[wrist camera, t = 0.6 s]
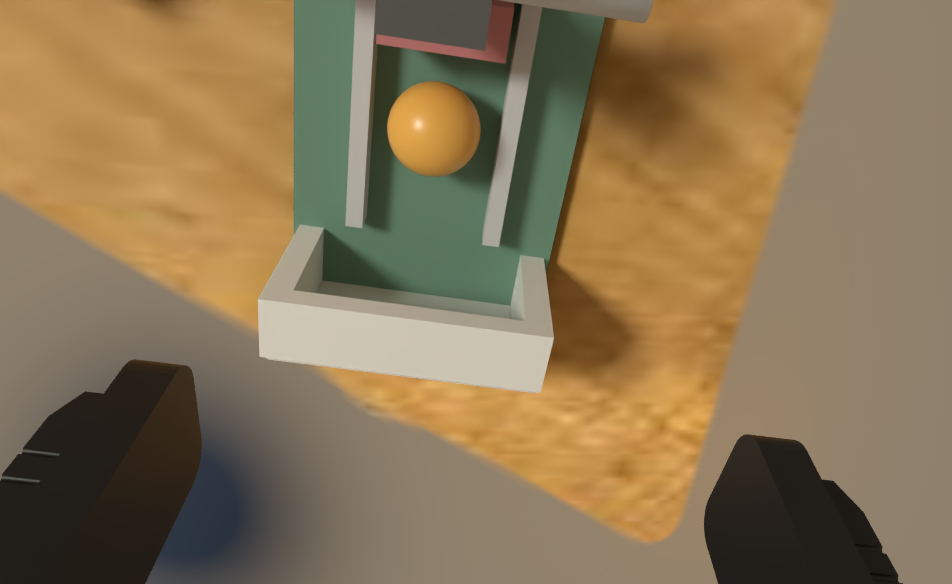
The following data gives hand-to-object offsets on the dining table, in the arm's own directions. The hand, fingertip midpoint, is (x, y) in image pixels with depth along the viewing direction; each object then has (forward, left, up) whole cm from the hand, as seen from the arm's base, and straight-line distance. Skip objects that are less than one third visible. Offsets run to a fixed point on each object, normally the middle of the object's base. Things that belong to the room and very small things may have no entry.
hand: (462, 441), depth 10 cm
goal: (+10, -2, -24) cm, 26 cm away
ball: (+2, -2, -21) cm, 21 cm away
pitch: (+2, -2, -23) cm, 24 cm away
